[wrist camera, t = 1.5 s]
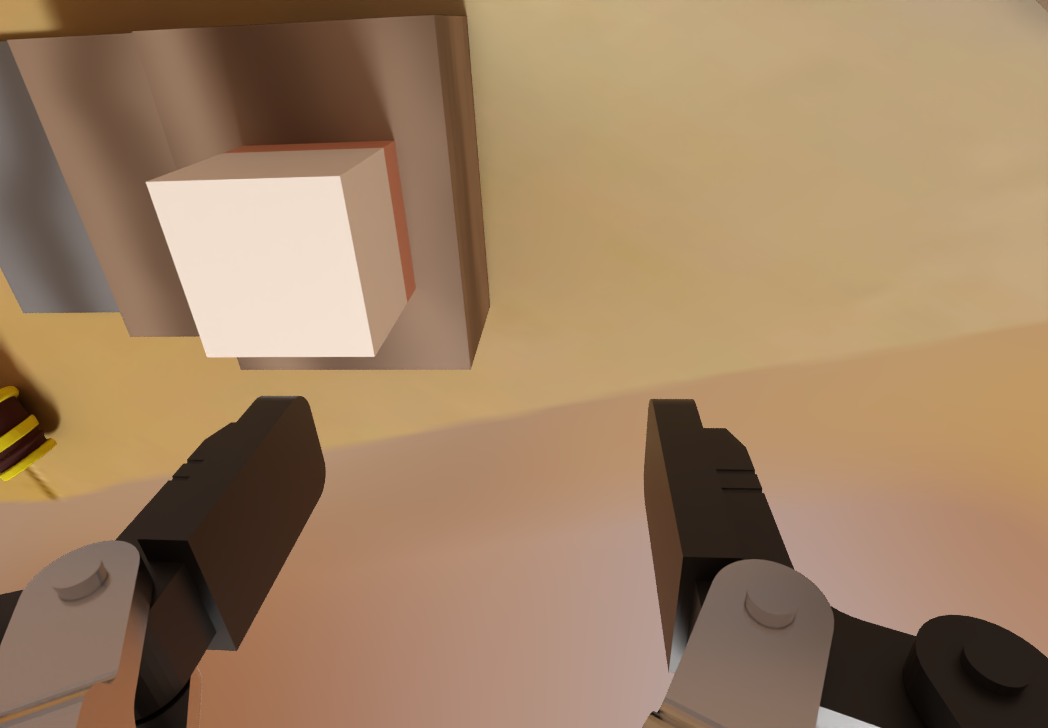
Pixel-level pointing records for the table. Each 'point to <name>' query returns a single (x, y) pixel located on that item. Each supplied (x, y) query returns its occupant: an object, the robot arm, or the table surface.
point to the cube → (290, 247)
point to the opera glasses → (19, 436)
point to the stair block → (225, 124)
